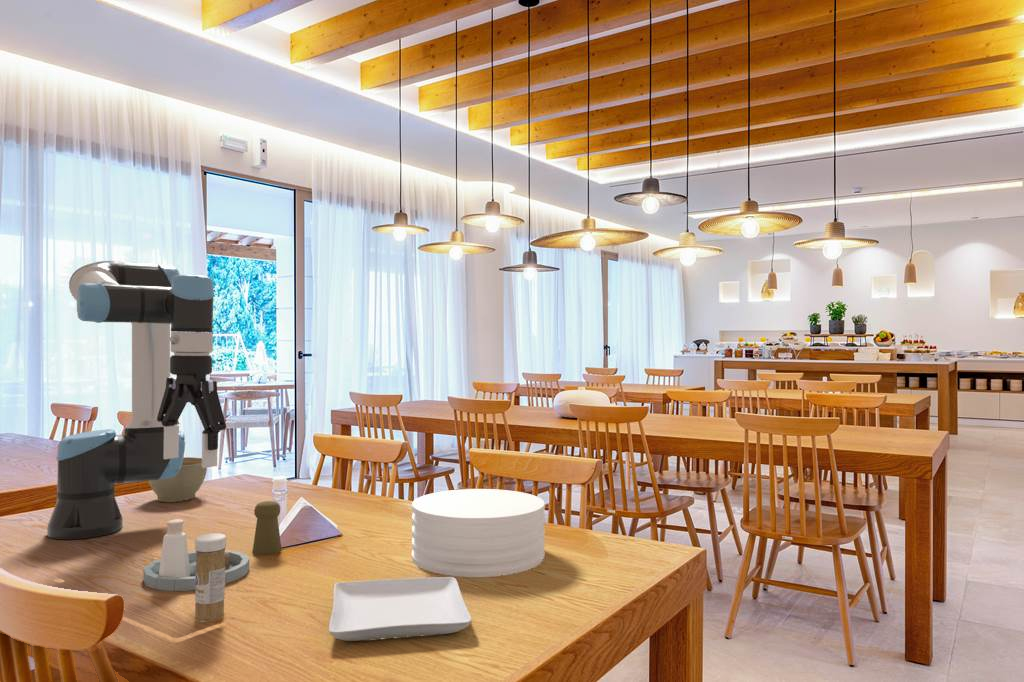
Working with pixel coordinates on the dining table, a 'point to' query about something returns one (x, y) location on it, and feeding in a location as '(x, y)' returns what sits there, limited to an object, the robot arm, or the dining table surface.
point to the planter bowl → (181, 482)
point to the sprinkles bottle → (210, 577)
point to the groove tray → (191, 581)
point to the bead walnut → (227, 560)
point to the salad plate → (397, 608)
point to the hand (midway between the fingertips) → (189, 462)
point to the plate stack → (478, 532)
